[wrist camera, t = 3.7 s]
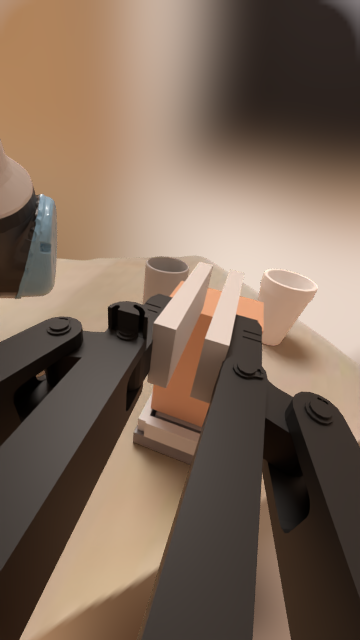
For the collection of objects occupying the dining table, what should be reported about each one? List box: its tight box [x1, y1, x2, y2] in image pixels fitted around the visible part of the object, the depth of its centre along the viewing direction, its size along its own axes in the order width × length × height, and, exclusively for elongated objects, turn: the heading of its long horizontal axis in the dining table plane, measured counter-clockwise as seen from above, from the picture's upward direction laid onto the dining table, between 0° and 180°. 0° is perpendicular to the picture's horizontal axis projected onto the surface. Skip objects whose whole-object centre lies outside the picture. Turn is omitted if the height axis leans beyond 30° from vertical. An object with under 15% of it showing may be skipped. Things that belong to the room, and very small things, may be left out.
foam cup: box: [258, 269, 318, 346], centre depth 47 cm, size 10×9×13 cm
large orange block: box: [151, 281, 264, 434], centre depth 25 cm, size 6×8×16 cm
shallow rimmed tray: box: [133, 391, 200, 465], centre depth 36 cm, size 25×10×4 cm, turn 163°
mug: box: [143, 256, 189, 304], centre depth 50 cm, size 12×8×11 cm
